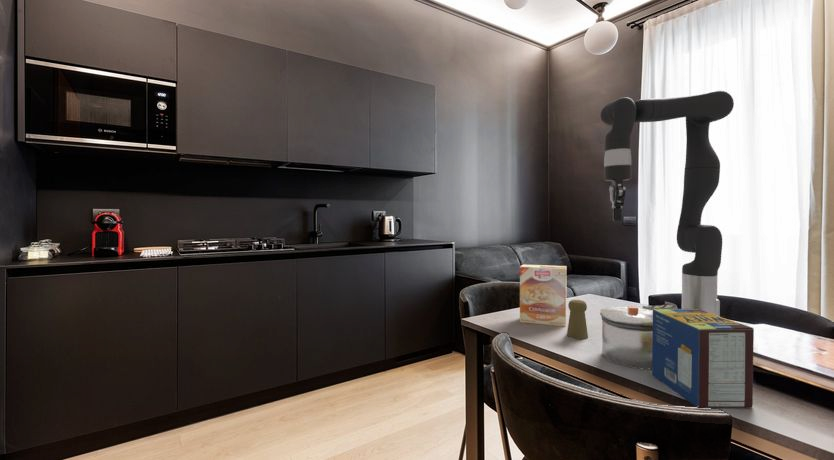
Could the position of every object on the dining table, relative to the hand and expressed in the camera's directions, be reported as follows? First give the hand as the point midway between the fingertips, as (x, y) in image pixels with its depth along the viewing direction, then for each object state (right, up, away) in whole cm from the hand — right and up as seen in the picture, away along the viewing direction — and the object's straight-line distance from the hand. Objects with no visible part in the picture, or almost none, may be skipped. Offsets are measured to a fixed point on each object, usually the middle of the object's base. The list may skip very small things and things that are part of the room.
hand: (616, 220), depth 119 cm
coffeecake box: (-19, -35, +12) cm, 42 cm away
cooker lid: (-7, -25, -22) cm, 34 cm away
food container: (+10, -35, -7) cm, 38 cm away
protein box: (-4, -37, -39) cm, 54 cm away
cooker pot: (-7, -36, -21) cm, 42 cm away
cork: (-14, -36, -3) cm, 38 cm away
